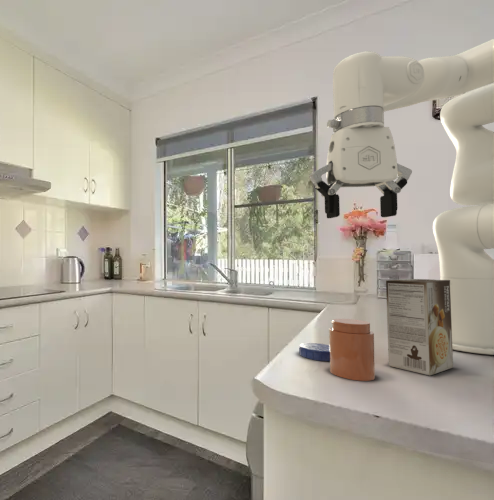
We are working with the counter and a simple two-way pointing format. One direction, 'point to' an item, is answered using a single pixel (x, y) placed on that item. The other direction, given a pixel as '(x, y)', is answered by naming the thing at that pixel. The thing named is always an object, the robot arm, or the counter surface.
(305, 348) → the lid
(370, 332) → the jar
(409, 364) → the coffee box
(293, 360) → the counter surface
